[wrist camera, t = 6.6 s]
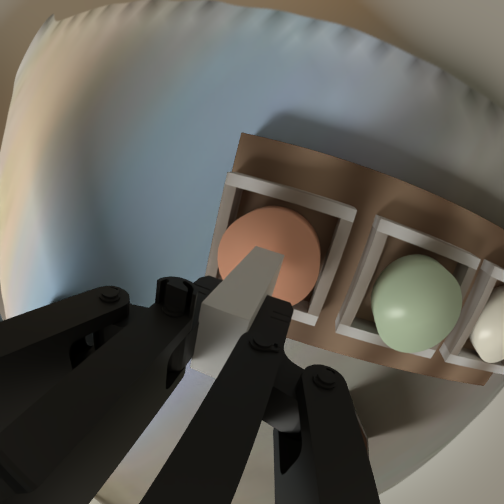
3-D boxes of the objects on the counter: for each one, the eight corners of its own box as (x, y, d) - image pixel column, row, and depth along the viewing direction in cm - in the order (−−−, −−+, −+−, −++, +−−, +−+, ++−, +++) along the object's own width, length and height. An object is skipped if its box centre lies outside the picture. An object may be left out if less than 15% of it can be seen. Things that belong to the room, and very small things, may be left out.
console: (215, 293, 26) (193, 317, 21) (252, 137, 21) (233, 129, 17) (474, 369, 21) (489, 396, 17) (533, 249, 17) (561, 264, 12)
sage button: (357, 322, 18) (360, 340, 16) (390, 241, 16) (399, 252, 14) (425, 341, 18) (434, 360, 15) (461, 269, 16) (476, 282, 13)
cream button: (456, 341, 18) (465, 357, 16) (488, 277, 16) (502, 289, 14) (497, 352, 17) (506, 366, 15) (527, 295, 15) (540, 306, 13)
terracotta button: (222, 277, 20) (209, 291, 18) (241, 194, 18) (229, 198, 16) (303, 305, 19) (300, 322, 17) (332, 222, 17) (334, 229, 15)
